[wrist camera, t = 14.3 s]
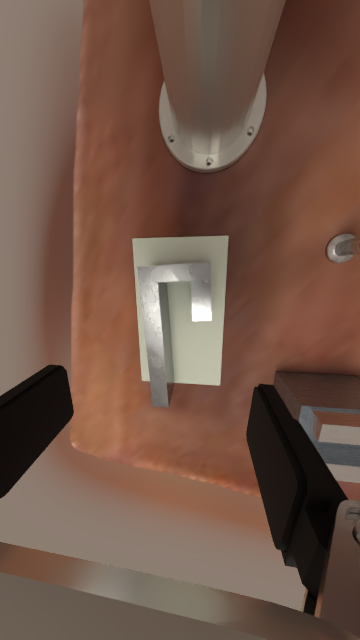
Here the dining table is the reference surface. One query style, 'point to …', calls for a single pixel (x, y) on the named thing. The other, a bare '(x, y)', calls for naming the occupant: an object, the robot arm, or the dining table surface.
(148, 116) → the dining table surface
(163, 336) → the crook
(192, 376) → the mat
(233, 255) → the dining table surface
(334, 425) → the grey metal pieces
